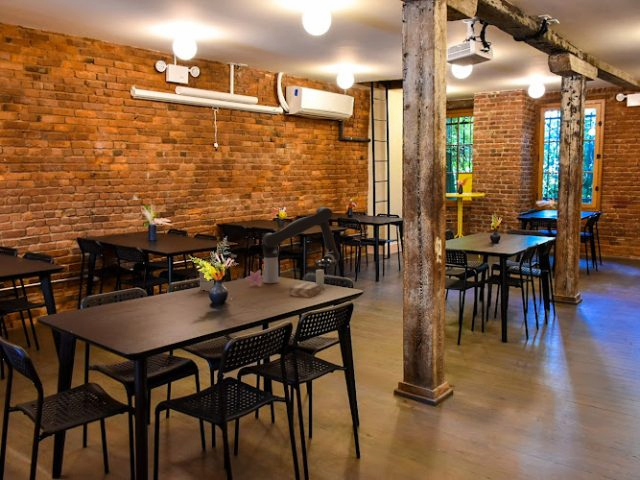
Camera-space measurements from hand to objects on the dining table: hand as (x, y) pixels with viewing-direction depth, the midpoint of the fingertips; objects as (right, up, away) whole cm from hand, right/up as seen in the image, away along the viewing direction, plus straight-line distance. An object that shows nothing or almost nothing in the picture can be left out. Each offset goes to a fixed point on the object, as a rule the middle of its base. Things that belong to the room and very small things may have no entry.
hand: (323, 264), depth 383 cm
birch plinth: (-11, -17, -24) cm, 31 cm away
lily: (-45, -14, +5) cm, 47 cm away
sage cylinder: (-2, -15, -9) cm, 18 cm away
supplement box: (-73, -16, -6) cm, 74 cm away
